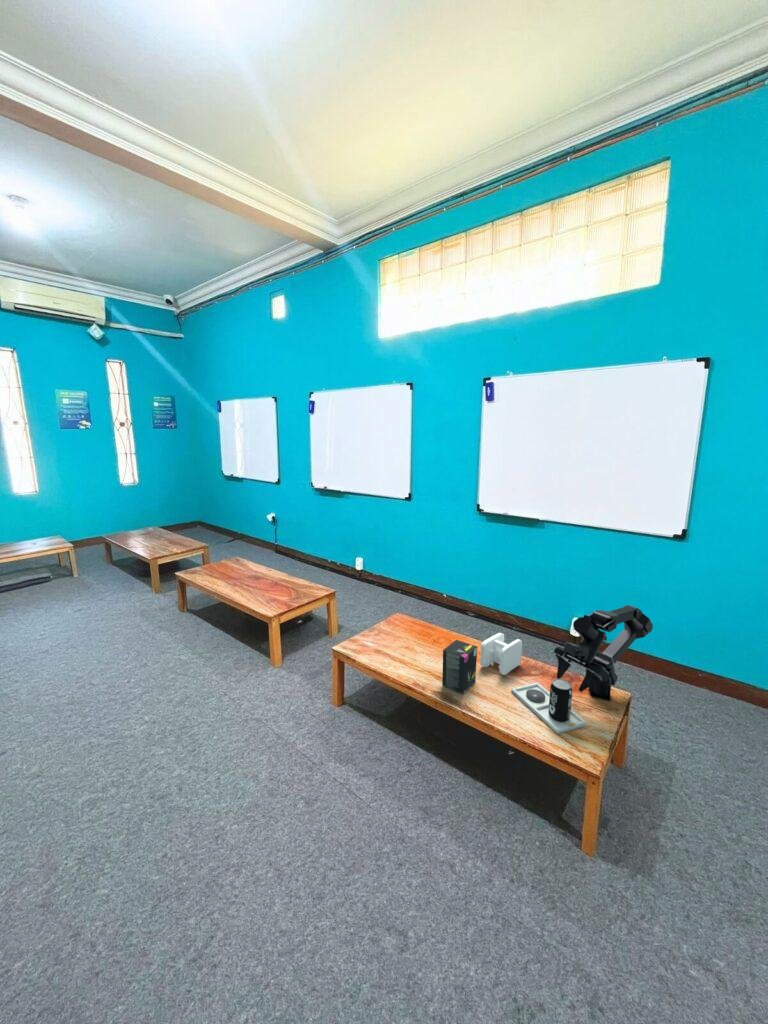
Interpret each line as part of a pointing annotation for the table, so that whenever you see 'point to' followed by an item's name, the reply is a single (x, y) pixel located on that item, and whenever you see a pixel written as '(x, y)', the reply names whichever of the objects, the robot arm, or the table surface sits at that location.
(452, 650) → the tampon box
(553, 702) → the beverage can
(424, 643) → the table surface
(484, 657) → the cable organizer
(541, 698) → the white divided tray
